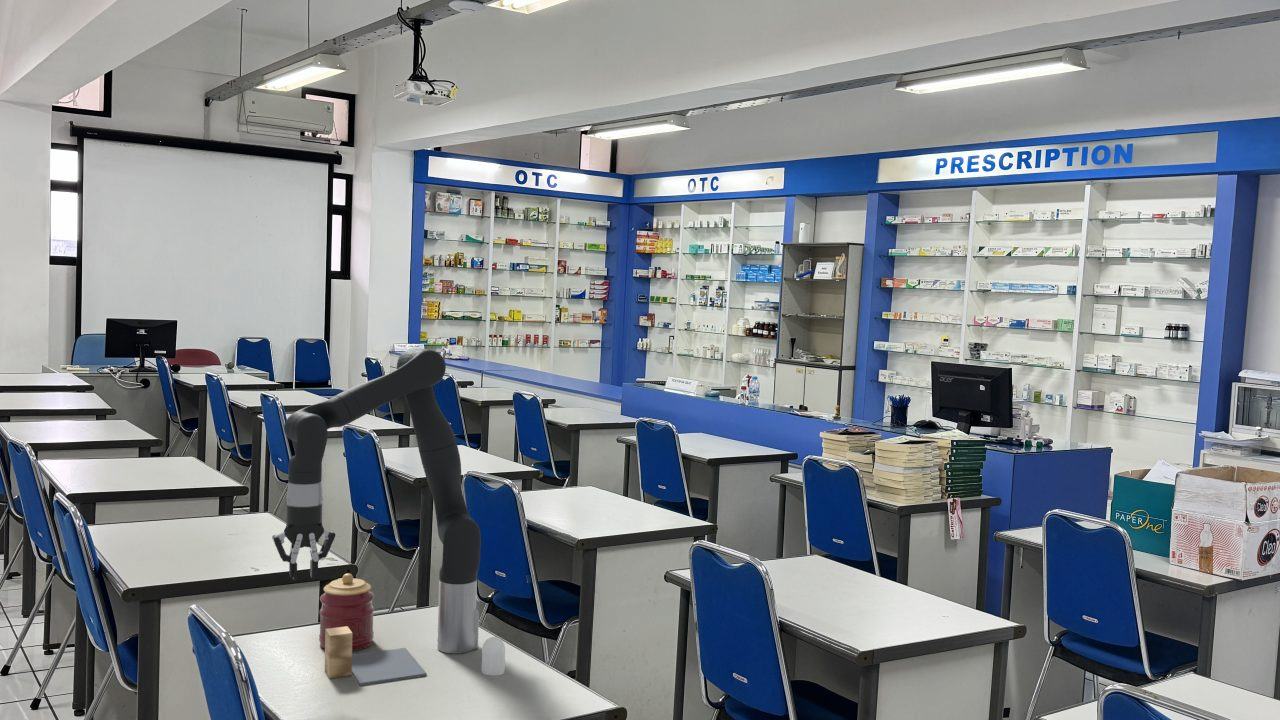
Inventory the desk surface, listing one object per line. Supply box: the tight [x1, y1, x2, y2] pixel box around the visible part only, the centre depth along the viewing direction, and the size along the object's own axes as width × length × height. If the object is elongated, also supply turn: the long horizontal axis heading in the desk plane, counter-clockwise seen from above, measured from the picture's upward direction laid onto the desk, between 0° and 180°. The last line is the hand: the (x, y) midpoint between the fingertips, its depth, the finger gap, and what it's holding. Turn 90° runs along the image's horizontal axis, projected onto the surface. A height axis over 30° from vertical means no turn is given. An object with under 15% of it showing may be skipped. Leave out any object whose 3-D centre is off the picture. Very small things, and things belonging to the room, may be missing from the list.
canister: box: [318, 573, 375, 652], centre depth 251 cm, size 13×13×18 cm
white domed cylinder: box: [481, 636, 506, 676], centre depth 237 cm, size 5×5×8 cm
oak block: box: [324, 626, 353, 680], centre depth 232 cm, size 5×5×10 cm
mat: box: [352, 647, 427, 687], centre depth 237 cm, size 15×18×1 cm
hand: (303, 577), depth 227 cm, fingers open, 3 cm apart
